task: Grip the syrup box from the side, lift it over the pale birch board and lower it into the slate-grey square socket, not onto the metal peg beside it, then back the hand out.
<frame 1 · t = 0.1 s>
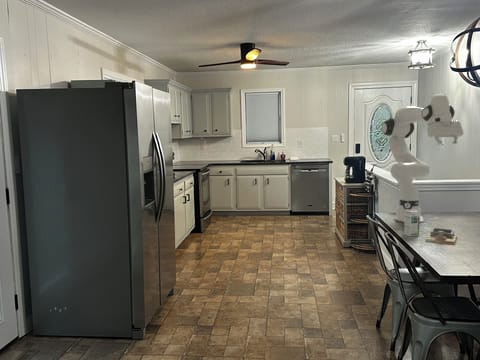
hand: (447, 144, 238), 52 cm above the table, tool tilted 20°, fingers open, 8 cm apart
socket board: (441, 239, 233), on the table
syrup box: (411, 235, 243), on the table
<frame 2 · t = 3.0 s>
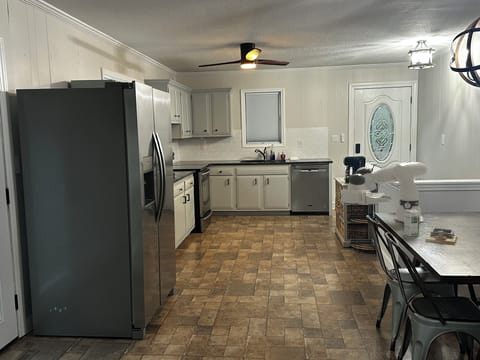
hand: (389, 199, 247), 20 cm above the table, tool horizontal, fingers open, 8 cm apart
nothing on the table moved.
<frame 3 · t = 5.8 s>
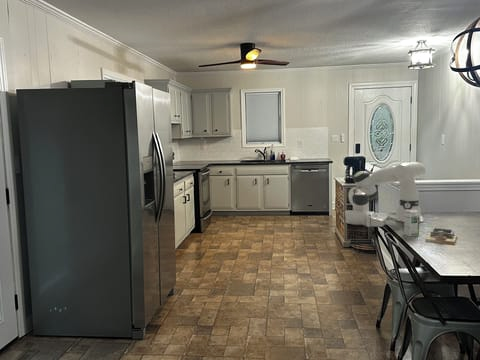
hand: (394, 221, 246), 7 cm above the table, tool horizontal, fingers open, 8 cm apart
nothing on the table moved.
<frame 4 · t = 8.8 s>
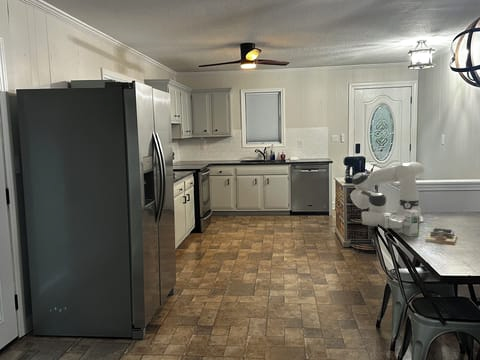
hand: (413, 222, 241), 8 cm above the table, tool horizontal, fingers closed on syrup box, 8 cm apart
syrup box: (411, 235, 243), on the table, touching gripper
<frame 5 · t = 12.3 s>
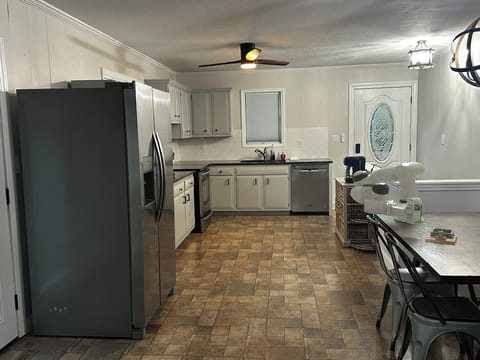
hand: (416, 210, 240), 15 cm above the table, tool horizontal, fingers closed on syrup box, 8 cm apart
syrup box: (413, 223, 241), point 7 cm above the table, touching gripper
when the fingers open (10 cm above the table, at t = 15.7 s): syrup box stays where it is, resting on socket board.
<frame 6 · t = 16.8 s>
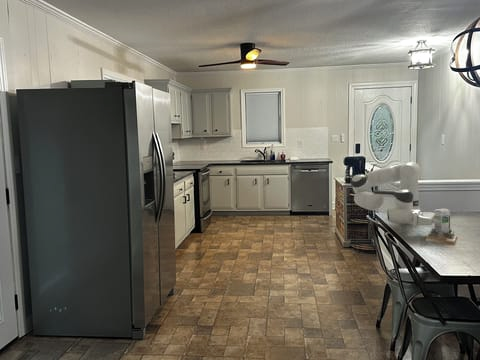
hand: (442, 219, 235), 10 cm above the table, tool horizontal, fingers open, 8 cm apart
syrup box: (442, 235, 236), point 1 cm above the table, touching gripper, socket board
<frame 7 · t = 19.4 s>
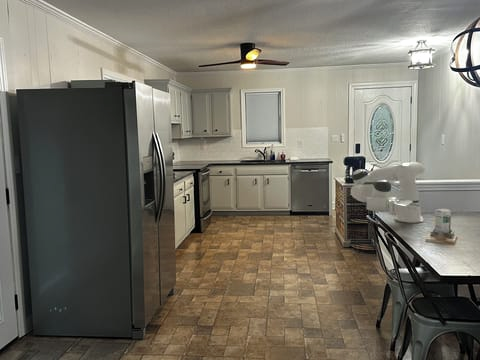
hand: (418, 206, 239), 17 cm above the table, tool horizontal, fingers open, 8 cm apart
syrup box: (442, 235, 236), point 1 cm above the table, touching socket board
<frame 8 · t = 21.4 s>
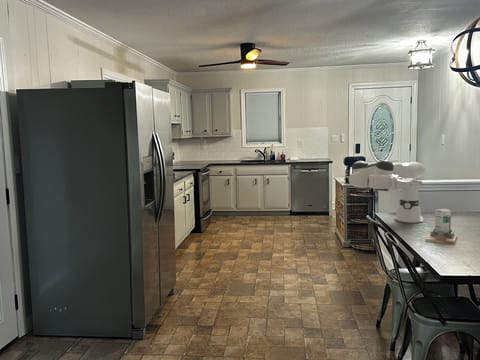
hand: (420, 183, 239), 30 cm above the table, tool horizontal, fingers open, 8 cm apart
nothing on the table moved.
at the end: syrup box 0.4 cm from the target spot on the socket board, point 1.3 cm above the socket board's base; syrup box tilted 0°; the gripper is holding nothing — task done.
